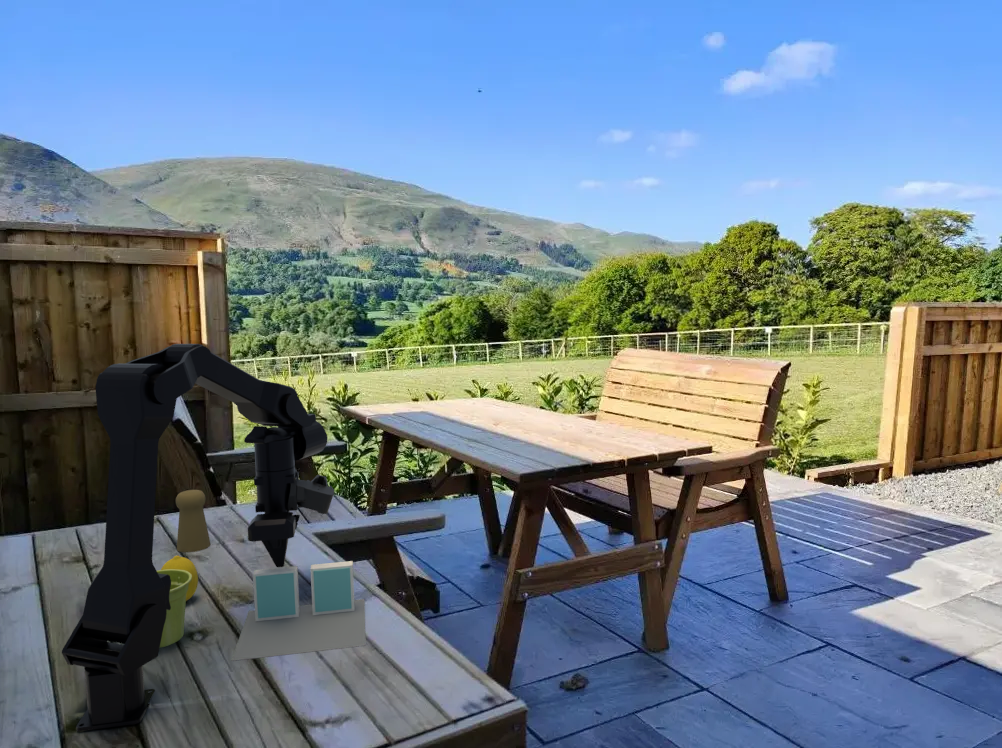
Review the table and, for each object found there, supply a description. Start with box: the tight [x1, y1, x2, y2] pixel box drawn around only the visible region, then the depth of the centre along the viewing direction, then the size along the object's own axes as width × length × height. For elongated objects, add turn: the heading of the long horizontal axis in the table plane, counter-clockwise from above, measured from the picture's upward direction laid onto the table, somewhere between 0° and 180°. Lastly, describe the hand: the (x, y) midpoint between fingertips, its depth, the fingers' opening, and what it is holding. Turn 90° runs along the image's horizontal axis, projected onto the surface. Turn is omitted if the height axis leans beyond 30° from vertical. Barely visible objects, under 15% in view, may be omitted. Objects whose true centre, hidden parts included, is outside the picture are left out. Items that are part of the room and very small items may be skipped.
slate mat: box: [230, 598, 367, 662], centre depth 99 cm, size 15×17×1 cm
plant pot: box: [156, 569, 192, 649], centre depth 96 cm, size 9×9×9 cm
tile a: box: [252, 565, 300, 621], centre depth 102 cm, size 2×6×7 cm, turn 102°
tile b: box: [310, 560, 355, 615], centre depth 103 cm, size 2×6×7 cm, turn 102°
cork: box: [175, 489, 211, 553], centre depth 134 cm, size 6×6×11 cm
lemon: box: [160, 555, 199, 602], centre depth 107 cm, size 6×6×8 cm
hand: (280, 566), depth 108 cm, fingers closed
